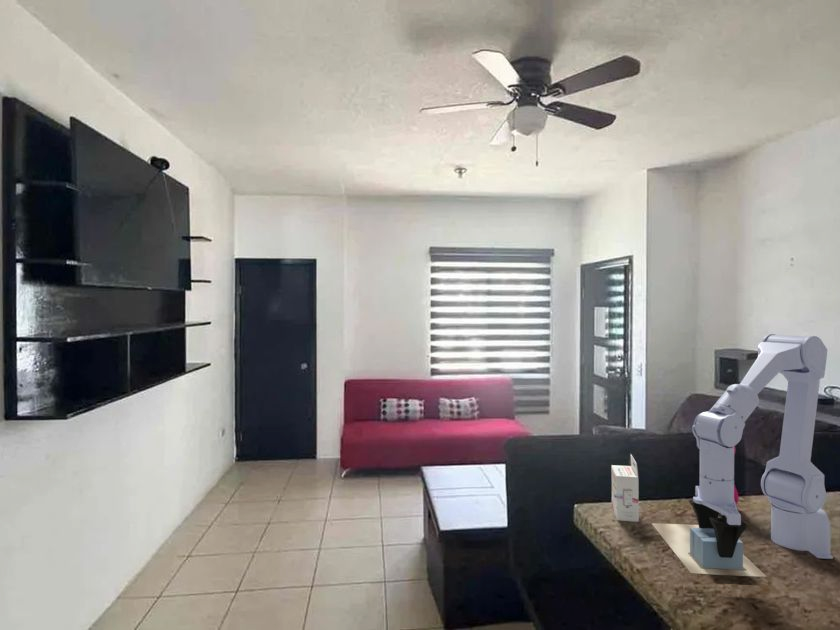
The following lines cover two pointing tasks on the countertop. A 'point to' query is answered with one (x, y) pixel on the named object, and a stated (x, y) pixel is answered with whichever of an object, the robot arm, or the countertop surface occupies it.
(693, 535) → the block
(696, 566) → the base plate
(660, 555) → the countertop surface
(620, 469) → the ink cartridge box
